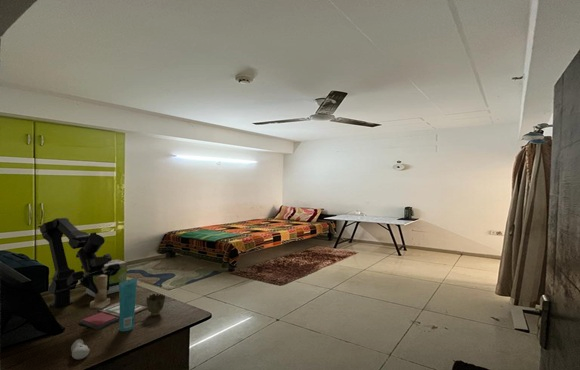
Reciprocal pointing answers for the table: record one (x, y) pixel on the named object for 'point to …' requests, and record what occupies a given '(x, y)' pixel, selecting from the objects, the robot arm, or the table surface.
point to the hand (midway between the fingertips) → (102, 291)
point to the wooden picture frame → (115, 309)
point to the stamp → (100, 294)
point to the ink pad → (99, 320)
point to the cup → (155, 304)
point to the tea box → (113, 277)
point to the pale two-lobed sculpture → (79, 349)
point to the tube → (127, 303)
